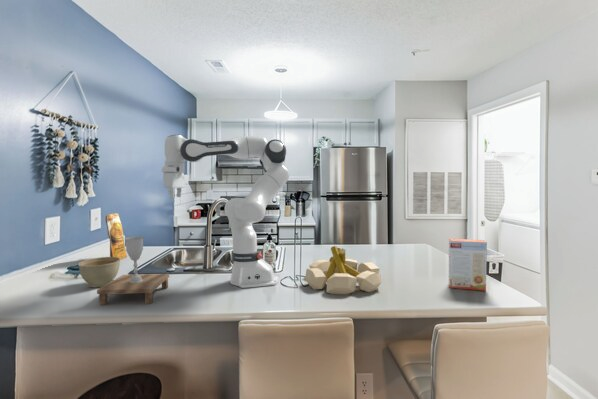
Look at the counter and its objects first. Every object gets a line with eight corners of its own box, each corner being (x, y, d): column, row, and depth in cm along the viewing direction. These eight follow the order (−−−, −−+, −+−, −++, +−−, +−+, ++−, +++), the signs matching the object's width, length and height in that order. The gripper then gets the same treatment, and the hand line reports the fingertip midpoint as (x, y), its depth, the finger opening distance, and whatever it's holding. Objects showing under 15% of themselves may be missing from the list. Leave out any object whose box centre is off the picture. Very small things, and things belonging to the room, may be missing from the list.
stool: (169, 286, 142) (169, 273, 142) (151, 304, 122) (150, 288, 122) (123, 288, 141) (122, 274, 140) (97, 305, 121) (96, 290, 120)
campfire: (310, 271, 166) (310, 238, 165) (376, 273, 162) (377, 239, 161) (301, 295, 132) (301, 254, 131) (386, 298, 127) (386, 256, 126)
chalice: (149, 279, 134) (147, 236, 133) (139, 284, 127) (137, 239, 126) (133, 278, 135) (131, 236, 134) (122, 283, 128) (120, 239, 127)
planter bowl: (75, 285, 146) (74, 261, 145) (114, 277, 157) (113, 255, 157) (85, 293, 135) (83, 267, 134) (126, 284, 146) (125, 260, 146)
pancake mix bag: (102, 263, 184) (100, 215, 182) (119, 255, 203) (117, 211, 201) (115, 262, 185) (112, 214, 183) (130, 255, 204) (128, 211, 202)
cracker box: (483, 287, 139) (484, 239, 138) (486, 291, 133) (487, 242, 132) (447, 283, 143) (448, 237, 142) (449, 288, 138) (450, 240, 136)
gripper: (175, 169, 164) (176, 196, 165) (160, 168, 143) (161, 198, 144) (187, 169, 164) (188, 196, 165) (174, 168, 144) (175, 198, 145)
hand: (175, 197), depth 154 cm, fingers open, 8 cm apart
